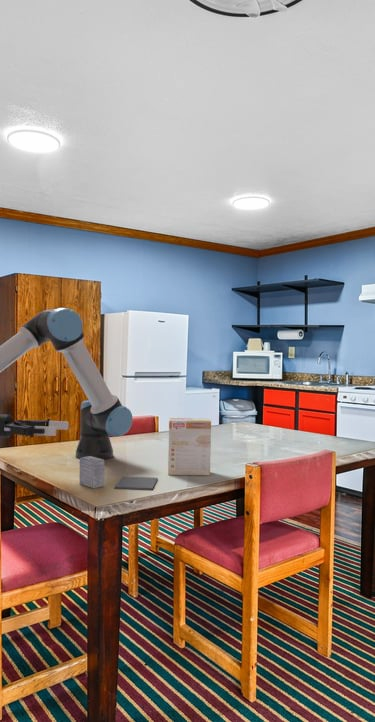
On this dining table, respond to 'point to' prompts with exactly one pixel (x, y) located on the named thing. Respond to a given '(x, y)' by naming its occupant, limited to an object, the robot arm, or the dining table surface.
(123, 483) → the mat
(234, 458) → the dining table surface
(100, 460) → the medicine box
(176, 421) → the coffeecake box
